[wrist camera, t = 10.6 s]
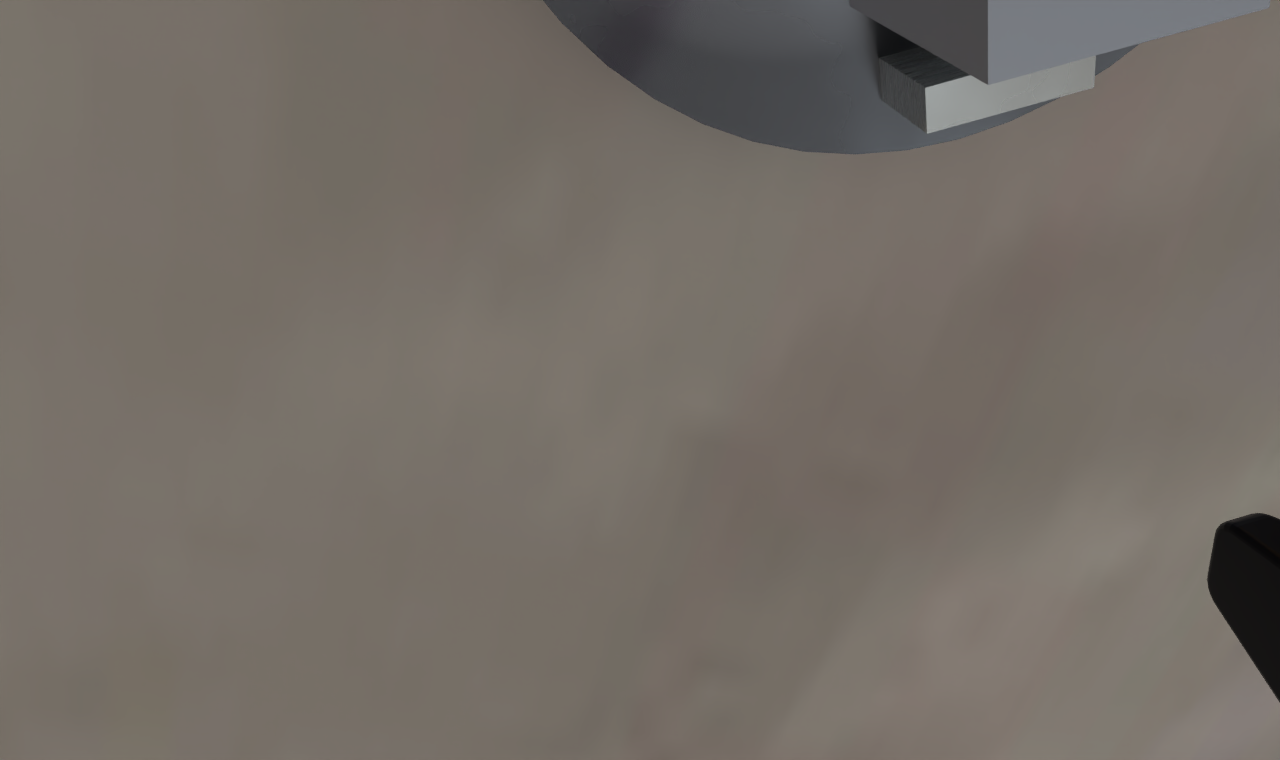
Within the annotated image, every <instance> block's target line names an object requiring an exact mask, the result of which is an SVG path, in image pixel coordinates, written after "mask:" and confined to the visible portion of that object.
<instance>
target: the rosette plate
mask: <svg viewBox="0 0 1280 760" xmlns="http://www.w3.org/2000/svg"><path fill="white" fill-rule="evenodd" d="M543 1H544V2H545V3H546V4H547V5H548V7H549V8H550V9H551V10H552V12H553V13H554V14H555V15H556V16H557V18H558V19H559V20H560V21H561V22H562V24H563V25H565V26H566V27H567V28H568V29H569V30H570V31H571V32H572V33H573V34H574V35H575V36H576V37H577V38H578V39H580V40H581V41H582V42H583V43H584V44H585V45H586V46H587V47H588V48H589V49H590V50H591V51H592V52H593V53H594V54H596V55H597V56H598V57H599V58H600V59H601V60H602V61H603V62H604V63H605V64H606V65H607V66H609V67H610V68H612V69H613V70H614V71H616V72H617V73H619V74H620V75H621V76H623V77H624V78H626V79H627V80H628V81H630V82H631V83H633V84H634V85H636V86H637V87H638V88H640V89H641V90H643V91H644V92H645V93H647V94H648V95H650V96H651V97H652V98H654V99H656V100H658V101H660V102H661V103H663V104H665V105H667V106H669V107H671V108H673V109H675V110H677V111H679V112H681V113H683V114H685V115H687V116H689V117H690V118H692V119H694V120H696V121H698V122H700V123H702V124H704V125H707V126H710V127H713V128H716V129H719V130H722V131H725V132H727V133H730V134H733V135H736V136H739V137H742V138H745V139H747V140H750V141H753V142H758V143H763V144H769V145H774V146H779V147H784V148H789V149H794V150H799V151H805V152H823V153H841V154H865V153H877V152H890V151H902V150H910V149H914V148H919V147H924V146H929V145H933V144H938V143H943V142H947V141H952V140H957V139H960V138H963V137H966V136H969V135H972V134H975V133H978V132H981V131H983V130H986V129H989V128H992V127H995V126H998V125H1001V124H1004V123H1007V122H1010V121H1012V120H1014V119H1016V118H1018V117H1020V116H1022V115H1024V114H1026V113H1028V112H1030V111H1033V110H1035V109H1037V108H1039V107H1041V106H1043V105H1045V104H1047V103H1049V102H1051V101H1053V100H1056V99H1058V98H1060V97H1062V96H1065V95H1069V94H1072V93H1076V92H1080V91H1083V90H1087V89H1090V88H1094V79H1095V75H1097V74H1099V73H1100V72H1102V71H1103V70H1105V69H1107V68H1108V67H1110V66H1111V65H1112V64H1114V63H1115V62H1116V61H1118V60H1119V59H1120V58H1121V57H1123V56H1124V55H1125V54H1127V53H1128V52H1129V51H1131V50H1132V49H1133V48H1135V47H1136V46H1137V45H1138V44H1136V45H1132V46H1128V47H1125V48H1121V49H1118V50H1114V51H1110V52H1107V53H1103V54H1099V55H1096V56H1092V57H1088V58H1085V59H1081V60H1078V61H1074V62H1070V63H1067V64H1063V65H1059V66H1056V67H1052V68H1049V69H1045V70H1041V71H1038V72H1034V73H1030V74H1027V75H1023V76H1019V77H1016V78H1012V79H1009V80H1005V81H1001V82H998V83H994V84H990V85H987V84H985V83H983V82H982V81H980V80H978V79H976V78H975V77H973V76H971V75H969V74H968V73H966V72H964V71H962V70H961V69H959V68H957V67H955V66H954V65H952V64H950V63H948V62H947V61H945V60H943V59H941V58H940V57H938V56H936V55H934V54H932V53H931V52H929V51H927V50H925V49H924V48H922V47H920V46H918V45H917V44H915V43H913V42H911V41H910V40H908V39H906V38H904V37H903V36H901V35H899V34H897V33H896V32H894V31H892V30H890V29H889V28H887V27H885V26H883V25H881V24H880V23H878V22H876V21H874V20H873V19H871V18H869V17H867V16H866V15H864V14H862V13H860V12H859V11H857V10H855V9H853V8H852V7H850V2H849V0H543ZM1139 44H1140V43H1139Z"/></svg>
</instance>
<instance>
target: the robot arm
mask: <svg viewBox="0 0 1280 760" xmlns="http://www.w3.org/2000/svg"><path fill="white" fill-rule="evenodd" d="M1207 581H1208V588H1209V591H1210V594H1211V597H1212V599H1213V601H1214V603H1215V604H1216V606H1217V608H1218V609H1219V611H1220V612H1221V614H1222V615H1223V617H1224V618H1225V620H1226V621H1227V623H1228V624H1229V626H1230V627H1231V629H1232V630H1233V632H1234V633H1235V635H1236V637H1237V638H1238V640H1239V641H1240V643H1241V644H1242V646H1243V647H1244V649H1245V650H1246V652H1247V653H1248V655H1249V656H1250V658H1251V659H1252V661H1253V662H1254V664H1255V665H1256V667H1257V669H1258V670H1259V672H1260V673H1261V675H1262V676H1263V678H1264V679H1265V681H1266V682H1267V684H1268V685H1269V687H1270V688H1271V690H1272V691H1273V693H1274V694H1275V696H1276V698H1277V699H1278V701H1279V702H1280V519H1278V518H1276V517H1273V516H1270V515H1267V514H1262V513H1255V514H1250V515H1246V516H1243V517H1240V518H1236V519H1233V520H1230V521H1226V522H1224V523H1222V524H1221V525H1220V526H1219V527H1218V528H1217V530H1216V533H1215V537H1214V543H1213V548H1212V554H1211V560H1210V565H1209V571H1208V578H1207Z"/></svg>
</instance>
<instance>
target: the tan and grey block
mask: <svg viewBox="0 0 1280 760" xmlns="http://www.w3.org/2000/svg"><path fill="white" fill-rule="evenodd" d="M849 2H850V7H852V8H853V9H855V10H857V11H859V12H860V13H862V14H864V15H866V16H867V17H869V18H871V19H873V20H874V21H876V22H878V23H880V24H881V25H883V26H885V27H887V28H889V29H890V30H892V31H894V32H896V33H897V34H899V35H901V36H903V37H904V38H906V39H908V40H910V41H911V42H913V43H915V44H917V45H918V46H920V47H922V48H924V49H925V50H927V51H929V52H931V53H932V54H934V55H936V56H938V57H940V58H941V59H943V60H945V61H947V62H948V63H950V64H952V65H954V66H955V67H957V68H959V69H961V70H962V71H964V72H966V73H968V74H969V75H971V76H973V77H975V78H976V79H978V80H980V81H982V82H983V83H985V84H987V85H990V84H994V83H998V82H1001V81H1005V80H1009V79H1012V78H1016V77H1019V76H1023V75H1027V74H1030V73H1034V72H1038V71H1041V70H1045V69H1049V68H1052V67H1056V66H1059V65H1063V64H1067V63H1070V62H1074V61H1078V60H1081V59H1085V58H1088V57H1092V56H1096V55H1099V54H1103V53H1107V52H1110V51H1114V50H1118V49H1121V48H1125V47H1128V46H1132V45H1136V44H1139V43H1143V42H1147V41H1150V40H1154V39H1158V38H1161V37H1165V36H1168V35H1172V34H1176V33H1179V32H1183V31H1187V30H1190V29H1194V28H1197V27H1201V26H1205V25H1208V24H1212V23H1216V22H1219V21H1223V20H1227V19H1230V18H1234V17H1237V16H1241V15H1245V14H1248V13H1252V12H1256V11H1259V10H1263V9H1267V8H1269V6H1270V0H849Z"/></svg>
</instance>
